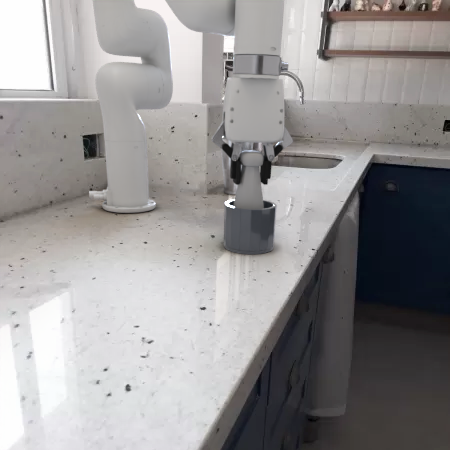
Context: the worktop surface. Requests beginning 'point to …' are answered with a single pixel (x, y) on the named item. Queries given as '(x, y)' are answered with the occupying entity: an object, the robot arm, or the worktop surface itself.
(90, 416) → the worktop surface
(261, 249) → the grey mortar cup
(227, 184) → the glass
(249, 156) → the salt shaker
